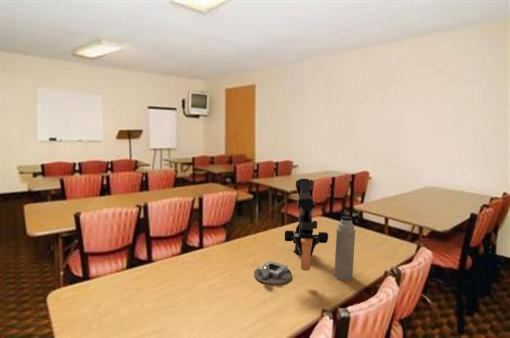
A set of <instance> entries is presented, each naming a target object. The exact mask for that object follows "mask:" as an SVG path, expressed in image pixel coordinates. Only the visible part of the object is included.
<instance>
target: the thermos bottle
mask: <svg viewBox="0 0 510 338" xmlns="http://www.w3.org/2000/svg"><path fill="white" fill-rule="evenodd" d="M355 241H356V230H355V225H354V223H353V217H351V216H347V215H343V216H341V217H340V222H339V223H338V227H336V238H335V254H334V255H335V258H334V273H333V276H334V277H335V278H336V279H338V280H340V281H345V282H348V281H351V280H352V279H353V274H354V272H353V271H354V258H355V256H354V255H355Z"/></svg>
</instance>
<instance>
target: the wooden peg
mask: <svg viewBox="0 0 510 338" xmlns="http://www.w3.org/2000/svg"><path fill="white" fill-rule="evenodd" d="M301 243H302V255H300V259H301V260H300V269H301V270H302V271H310V270H311V263H312V262H311V259H312V256H311V246H312V239H310V238H302V239H301Z"/></svg>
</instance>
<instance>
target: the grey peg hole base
mask: <svg viewBox="0 0 510 338" xmlns="http://www.w3.org/2000/svg"><path fill="white" fill-rule="evenodd" d="M288 267H289V266H288V265H287V264H282V263H278V262H274V261H271V260H268V261H266V262H265V263H264V264H262V265H261V266H259V267H257V268H256V269H255V270H254V272H253V275H254V278H255V280H256V281H258V282H259V283H262V284H265V285H270V286H272V285H273V286H275V285H276V286H277V285H284V284H287V283H288V282H290V281H291V279H292V276H293V275H292V272H291V270H290V269H289V268H288Z"/></svg>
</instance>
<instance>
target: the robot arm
mask: <svg viewBox="0 0 510 338" xmlns="http://www.w3.org/2000/svg"><path fill="white" fill-rule="evenodd" d="M312 182H313V181H312V180H310V179H309V178H299V179H297V180H295V189H296V193H297V195H298V199H297V200H296V201H297V204H296V205H297V208H298V224H297V226H296V227H295V231H294V230H284V241H285V242H292V243H293V244H295V245H294V246H295V247H294V249H293V253H295V254H298V255H300V256H301V255H302V243H301V239H302V238H310V239H312V244H311V257H312V256H313V253H314V251H315V248H316V245H319V244H326V243H328V240H329V233H328V232H326V231H325V232H324V231H318V234H314V230H315V229H316V230H317V229H318V221H317V220H313V213H314V209H315V208H316V203H315V201H314V200H313V196H312V195H311V194H310V192H311V190H312V189H313V188H312V186H313V185H312V184H313V183H312Z"/></svg>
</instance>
